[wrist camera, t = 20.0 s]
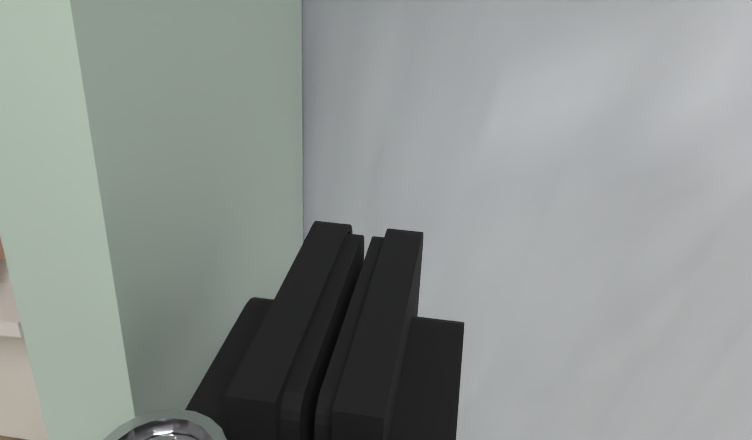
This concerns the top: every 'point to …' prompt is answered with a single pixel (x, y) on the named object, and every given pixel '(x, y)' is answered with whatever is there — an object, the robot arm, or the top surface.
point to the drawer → (138, 198)
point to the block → (1, 251)
